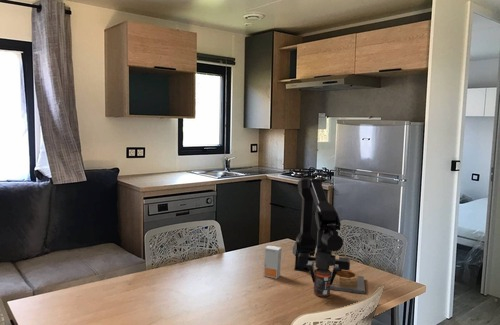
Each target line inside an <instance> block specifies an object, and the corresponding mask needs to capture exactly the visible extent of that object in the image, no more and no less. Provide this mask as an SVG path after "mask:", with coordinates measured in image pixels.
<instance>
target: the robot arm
mask: <svg viewBox="0 0 500 325" xmlns="http://www.w3.org/2000/svg"><path fill="white" fill-rule="evenodd" d="M297 189H298V193H299V195H300V196H301V215H300V232H299V233H298V234H297V236H296V238H295V242H294V245H293V246H292V254H293V255H294V257H295V260H294V268H293V269H294V271H302V272H309V273H310V276H311V280H312V283H313V284H314V279H315V268H316V269H318V268H323V269H329V270H330V267H332V276H331V283H330V285H332V283H333V280H334V278H335V276H336V274H337V273H338V271H342V270H350V269H351V259H350V258H349V257H342V256H339V258H338V259H336V256H337V255H334V254H333V252H338V251H340V250H341V249H342V247H343V245H344V239H343V238H342V237H341V235H339V231H341V226H342V224H341V221H340V217H339V213H338V212H337V210H336V208H335V207H334V205H333V204H331V203H330V202H329V200H328V198H327V195H326V192H325V190H324V186H323V181H322V179H321V178H310V177H309V178H308V177H307V178H305V177H304V178H303V177H301V178H300V179H299V181H298V182H297ZM314 205H315V208H316V209H315V214H314V213H313V211H314V210H313V209H314ZM313 214H314V219H315V224H316V227H317V235H316V237H317V238H316V240H315V237H314V236H313V235H312V230H313V229H312V227H313V226H312V225H313ZM316 246H317V250H316Z"/></svg>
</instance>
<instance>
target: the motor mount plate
mask: <svg viewBox="0 0 500 325" xmlns="http://www.w3.org/2000/svg"><path fill="white" fill-rule="evenodd" d="M332 272H333V271H332ZM332 272H331V276H332ZM365 288H366V287H365V276H363V275H358V273H357V272H355V271H353V270H342V271H338V273H337V274H336V276H335V278H334V280H333V283H332V285H330V290H333V291H341V292H348V293H354V294H355V293H356V294H362V295H365V292H366V289H365Z"/></svg>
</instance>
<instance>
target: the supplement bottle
mask: <svg viewBox="0 0 500 325" xmlns="http://www.w3.org/2000/svg"><path fill="white" fill-rule="evenodd" d="M314 271H315V279H314V283H313V293H314V295H316V296H318V297H323V298H326V297H329V296H330V294H331V289H330V283H331V270H330V268H329V269H323V268H316V269H314Z"/></svg>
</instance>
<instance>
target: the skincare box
mask: <svg viewBox="0 0 500 325" xmlns="http://www.w3.org/2000/svg"><path fill="white" fill-rule="evenodd" d="M263 260H264V261H263V275H262V276H263V277H268V278H272V279H276V280H277V279H278V278H279V277H280V275H281V266H282V264H281V262H282V247H280V246H275V245H274V246H273V245H267V246H265V248H264V258H263Z"/></svg>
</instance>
